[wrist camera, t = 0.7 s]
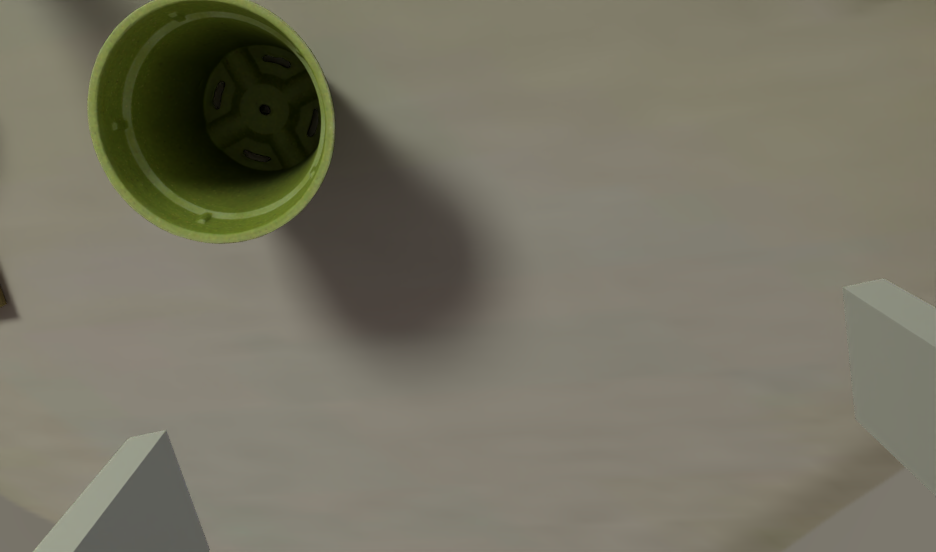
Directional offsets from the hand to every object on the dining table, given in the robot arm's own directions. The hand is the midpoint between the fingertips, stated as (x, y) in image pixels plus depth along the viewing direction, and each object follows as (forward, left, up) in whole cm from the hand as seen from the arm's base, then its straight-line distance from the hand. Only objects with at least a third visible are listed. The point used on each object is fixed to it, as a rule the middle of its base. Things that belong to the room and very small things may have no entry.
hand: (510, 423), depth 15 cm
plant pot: (-6, -9, -26) cm, 28 cm away
